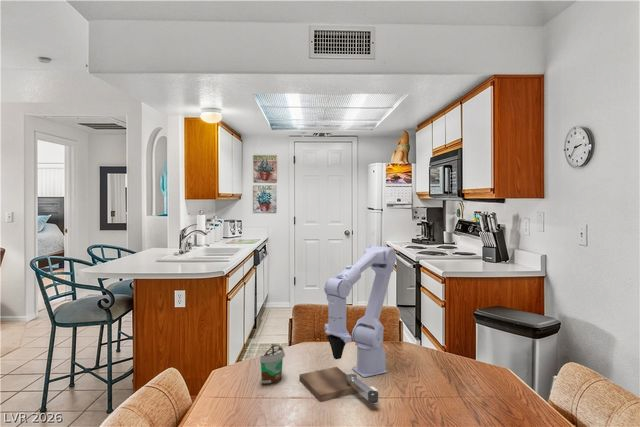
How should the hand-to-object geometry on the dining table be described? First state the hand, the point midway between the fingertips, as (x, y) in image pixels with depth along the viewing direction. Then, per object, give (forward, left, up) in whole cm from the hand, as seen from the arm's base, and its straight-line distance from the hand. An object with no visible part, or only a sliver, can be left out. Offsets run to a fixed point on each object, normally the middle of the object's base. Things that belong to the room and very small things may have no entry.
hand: (337, 358), depth 131 cm
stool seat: (+2, -2, -9) cm, 10 cm away
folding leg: (-3, +10, -7) cm, 13 cm away
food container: (+16, -14, -10) cm, 23 cm away
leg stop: (-5, +13, -9) cm, 17 cm away
